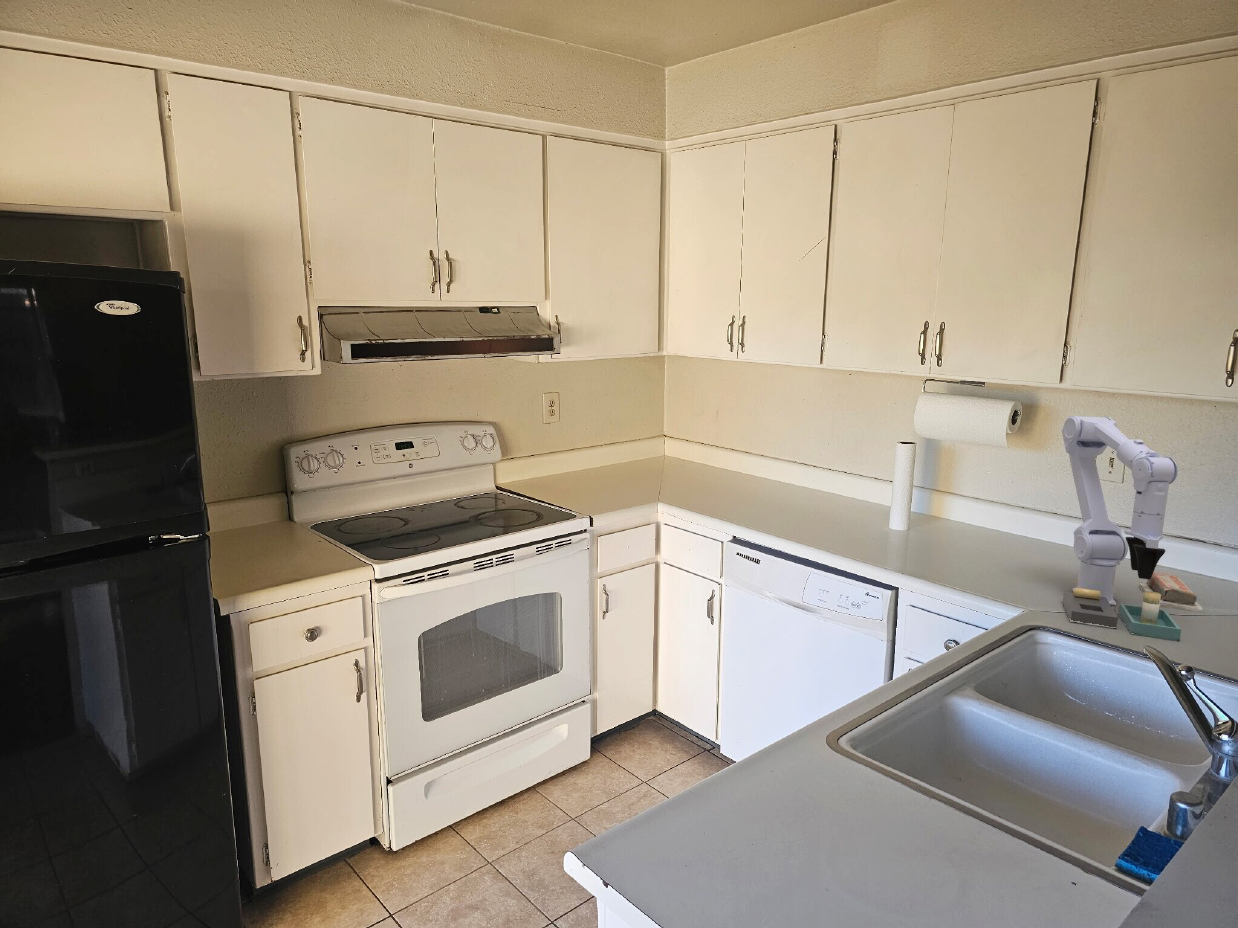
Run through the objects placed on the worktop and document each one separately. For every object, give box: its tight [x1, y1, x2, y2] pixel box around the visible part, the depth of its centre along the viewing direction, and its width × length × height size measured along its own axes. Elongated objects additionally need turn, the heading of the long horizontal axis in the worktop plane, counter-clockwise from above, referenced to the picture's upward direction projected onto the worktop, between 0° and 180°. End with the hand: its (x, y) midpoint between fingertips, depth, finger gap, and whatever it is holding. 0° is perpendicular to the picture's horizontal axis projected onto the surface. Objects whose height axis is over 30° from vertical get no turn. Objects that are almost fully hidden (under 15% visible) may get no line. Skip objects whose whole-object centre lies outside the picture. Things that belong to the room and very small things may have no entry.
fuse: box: [1140, 591, 1161, 625], centre depth 171 cm, size 3×3×7 cm
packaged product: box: [1138, 572, 1205, 613], centre depth 194 cm, size 18×5×10 cm
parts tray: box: [1118, 603, 1182, 642], centre depth 172 cm, size 14×8×2 cm, turn 157°
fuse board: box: [1062, 587, 1119, 629], centre depth 178 cm, size 16×8×4 cm, turn 157°
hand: (1140, 574), depth 175 cm, fingers open, 7 cm apart
